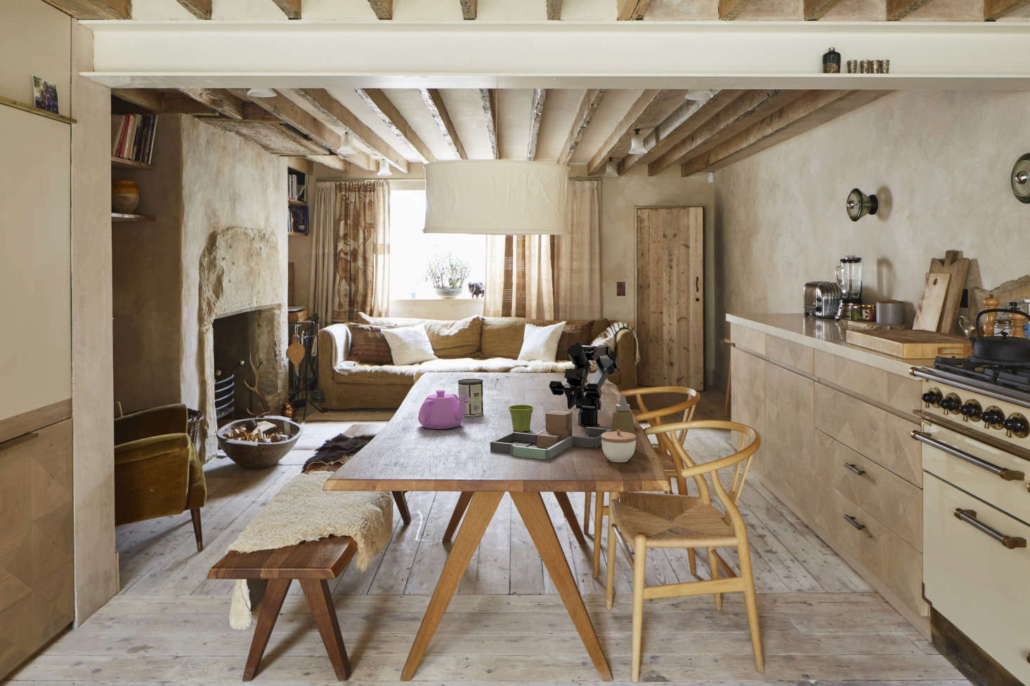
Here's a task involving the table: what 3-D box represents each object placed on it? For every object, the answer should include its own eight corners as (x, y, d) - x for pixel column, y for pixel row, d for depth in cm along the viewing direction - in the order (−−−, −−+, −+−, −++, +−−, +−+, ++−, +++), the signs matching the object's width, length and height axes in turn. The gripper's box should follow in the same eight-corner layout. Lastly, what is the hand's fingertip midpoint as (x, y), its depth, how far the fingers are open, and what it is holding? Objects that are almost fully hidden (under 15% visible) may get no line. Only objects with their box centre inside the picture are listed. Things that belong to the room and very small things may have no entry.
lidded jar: (597, 455, 221) (598, 426, 220) (631, 454, 222) (631, 425, 221) (605, 465, 211) (605, 434, 210) (639, 464, 211) (640, 433, 211)
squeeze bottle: (636, 445, 234) (637, 392, 232) (632, 451, 226) (633, 396, 224) (612, 444, 236) (613, 391, 234) (607, 449, 229) (608, 395, 227)
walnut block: (553, 437, 246) (553, 409, 245) (572, 439, 243) (572, 411, 242) (537, 446, 233) (536, 417, 232) (556, 449, 230) (556, 419, 229)
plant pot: (531, 433, 252) (531, 409, 252) (506, 432, 254) (506, 409, 253) (536, 427, 262) (536, 405, 261) (511, 427, 263) (511, 404, 263)
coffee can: (468, 410, 295) (467, 377, 294) (488, 413, 289) (488, 379, 288) (453, 415, 286) (452, 381, 285) (473, 417, 281) (473, 383, 279)
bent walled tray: (534, 429, 258) (534, 421, 258) (612, 437, 245) (612, 429, 245) (487, 452, 226) (487, 443, 226) (573, 463, 213) (573, 453, 213)
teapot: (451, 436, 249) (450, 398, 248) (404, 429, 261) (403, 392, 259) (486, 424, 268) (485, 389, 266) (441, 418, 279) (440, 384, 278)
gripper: (550, 358, 255) (538, 393, 246) (599, 361, 247) (588, 397, 238) (559, 377, 263) (547, 411, 254) (606, 380, 255) (595, 415, 246)
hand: (568, 408), depth 248 cm, fingers closed
